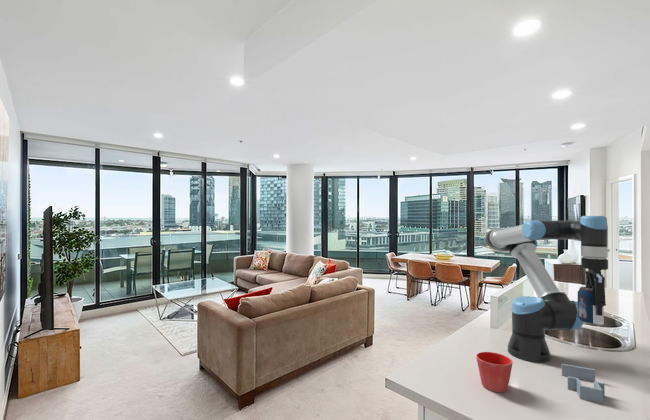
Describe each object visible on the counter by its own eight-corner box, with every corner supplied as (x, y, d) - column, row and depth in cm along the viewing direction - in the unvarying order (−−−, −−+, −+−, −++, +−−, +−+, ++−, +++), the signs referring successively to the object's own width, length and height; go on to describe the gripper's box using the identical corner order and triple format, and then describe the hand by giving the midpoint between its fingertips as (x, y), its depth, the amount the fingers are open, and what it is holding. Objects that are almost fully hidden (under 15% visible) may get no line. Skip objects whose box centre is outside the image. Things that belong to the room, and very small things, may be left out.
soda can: (603, 321, 117) (602, 288, 117) (601, 326, 112) (600, 291, 112) (579, 317, 122) (578, 285, 122) (576, 321, 117) (575, 288, 117)
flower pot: (480, 375, 116) (480, 348, 116) (515, 385, 109) (514, 356, 110) (472, 387, 108) (472, 358, 108) (509, 399, 101) (509, 368, 101)
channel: (571, 396, 102) (571, 384, 102) (561, 374, 117) (561, 363, 117) (609, 405, 98) (609, 391, 98) (594, 380, 112) (594, 369, 112)
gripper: (617, 261, 106) (618, 331, 105) (599, 255, 123) (600, 314, 123) (588, 260, 109) (589, 327, 109) (575, 254, 127) (576, 312, 127)
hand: (595, 320), depth 116 cm, fingers closed on soda can, 7 cm apart
